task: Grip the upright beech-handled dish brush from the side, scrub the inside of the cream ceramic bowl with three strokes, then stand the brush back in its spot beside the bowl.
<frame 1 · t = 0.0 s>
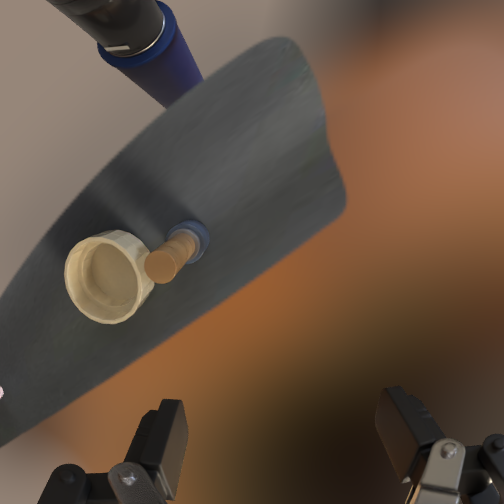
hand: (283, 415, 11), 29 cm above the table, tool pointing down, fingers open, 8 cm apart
bowl: (119, 268, 40), on the table
brush: (191, 238, 39), on the table
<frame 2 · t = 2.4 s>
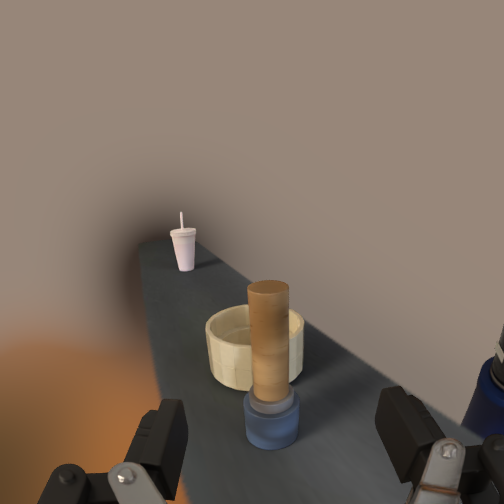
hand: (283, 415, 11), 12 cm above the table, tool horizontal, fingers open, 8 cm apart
bowl: (257, 367, 35), on the table
smoothie: (186, 269, 77), on the table
brush: (272, 432, 25), on the table
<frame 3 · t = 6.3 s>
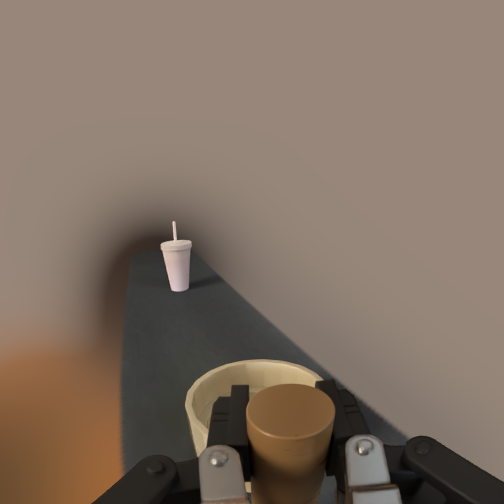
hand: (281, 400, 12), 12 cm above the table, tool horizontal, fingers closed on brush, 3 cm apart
bowl: (260, 448, 22), on the table
smoothie: (180, 289, 65), on the table
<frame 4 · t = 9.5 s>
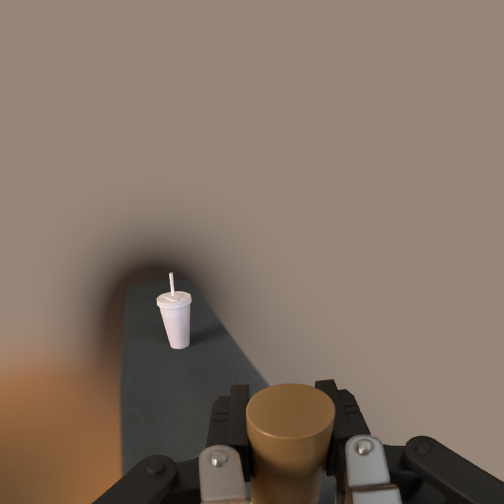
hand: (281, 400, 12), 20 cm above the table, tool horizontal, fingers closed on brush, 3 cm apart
smoothie: (180, 345, 58), on the table
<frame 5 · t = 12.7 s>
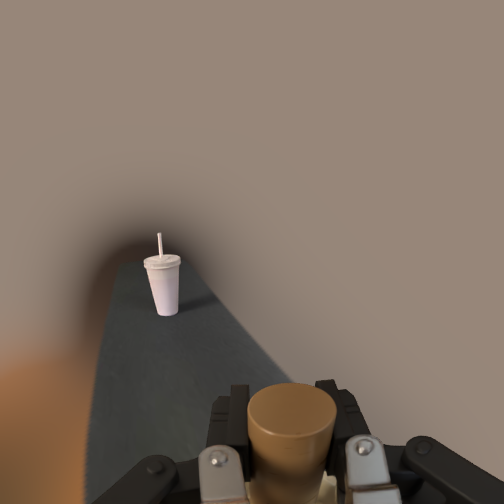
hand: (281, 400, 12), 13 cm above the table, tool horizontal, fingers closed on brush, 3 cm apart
smoothie: (168, 312, 54), on the table
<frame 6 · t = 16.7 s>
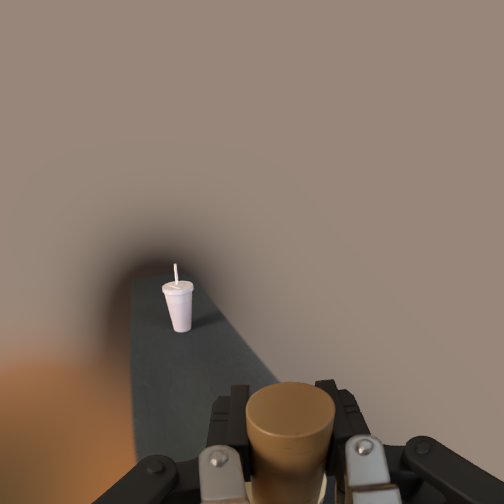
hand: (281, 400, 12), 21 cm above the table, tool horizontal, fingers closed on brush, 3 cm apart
smoothie: (182, 329, 65), on the table
when the fingers open (12 cm above the table, at t = 19.5 s): brush stays where it is, on the table.
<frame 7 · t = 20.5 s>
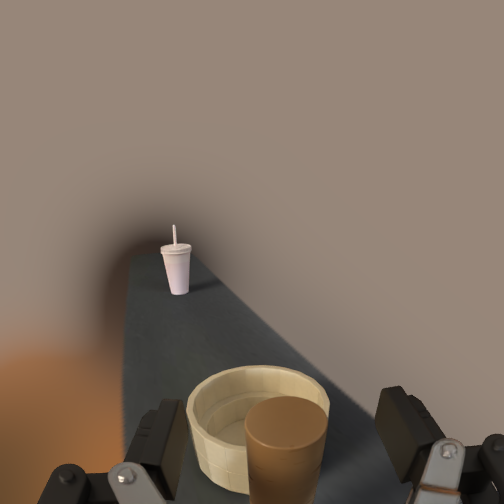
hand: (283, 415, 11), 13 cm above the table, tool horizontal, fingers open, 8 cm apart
bowl: (259, 451, 23), on the table
smoothie: (180, 292, 65), on the table
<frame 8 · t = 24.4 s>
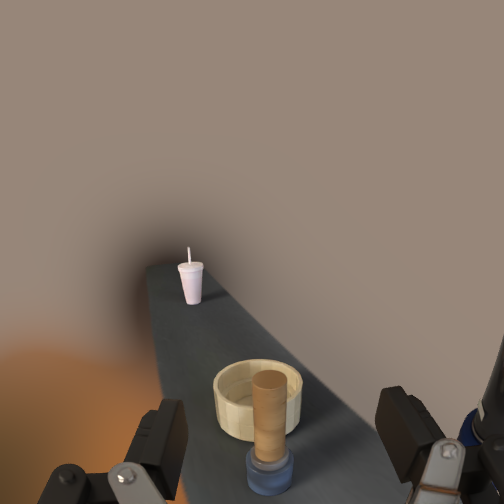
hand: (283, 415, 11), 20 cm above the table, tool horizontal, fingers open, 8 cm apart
bowl: (259, 417, 37), on the table
smoothie: (193, 302, 79), on the table
brush: (269, 479, 26), on the table
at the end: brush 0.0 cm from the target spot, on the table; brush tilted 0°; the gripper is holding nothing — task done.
